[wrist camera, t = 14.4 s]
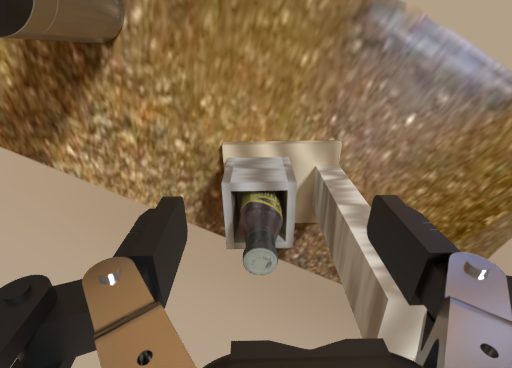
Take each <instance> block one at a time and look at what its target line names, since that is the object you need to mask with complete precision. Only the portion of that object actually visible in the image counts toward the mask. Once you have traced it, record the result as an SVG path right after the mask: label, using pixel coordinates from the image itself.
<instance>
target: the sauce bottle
mask: <svg viewBox="0 0 512 368" xmlns="http://www.w3.org/2000/svg"><path fill="white" fill-rule="evenodd" d="M282 224H283V218H282V211H281V202H280V195H279V191H243V196H242V203H241V210H240V220H239V230H240V233H241V236H242V238H243V239H244V240H245V243H246V248H245V250H244V252H243V265H244V267H245V269H246V270H248V271H249V272H250V273H252V274H255V275H266V274H269V273H271V272H272V271H273V270H274V269H275V268H276V266H277V263H278V253H277V250H276V248H275V247H276V246H275V242H276V239H277V237H278V234H279V232H280V229H281V227H282Z"/></svg>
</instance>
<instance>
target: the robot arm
mask: <svg viewBox="0 0 512 368" xmlns="http://www.w3.org/2000/svg"><path fill="white" fill-rule="evenodd" d="M123 21H124V8H123V3H122V0H0V38H14V39H35V40H52V41H69V42H85V43H104V42H108V41H110V40H112V39H113V38H115V37H116V36H117V35H118V33H119V32H120V30H121V28H122V25H123ZM367 236H368V239H369V241H370V243H371V244H372V246H373V248H374V249H375V251H376V253H377V254H378V256H379V257H380V259H381V261H382V262H383V264H384V265H385V267H386V269H387V270H388V272H389V274H390V275H391V277H392V278H393V280H394V282H395V283H396V285H397V286H398V288H399V290H400V291H401V293H402V295H403V296H404V298H405V299H406V301H407V303H408V304H409V306H412V305H424V306H425V307H426V309H427V310H426V312H425V315H424V318H423V324H422V329H421V334H420V340H419V345H418V351H417V357H416V361H415V362H414V361H412V360H410V359H408V358H405V357H403V356H400V355H398V354H395V353H392V352H389V350H388V348H387V346H386V344H385V342H384V339H383V338H368V339H345V340H341V341H338V342H334V343H331V344H328V345H325V346H322V347H318V348H315V349H311V350H308V349H302V348H298V347H294V346H290V345H286V344H282V343H277V342H273V341H268V340H267V341H231V354H229V355H226V356H223V357H221V358H219V359H216V360H214V361H212V362H211V363H209V364H207V365H206V366H204V367H203V368H512V276H507V275H505V273H504V272H503V271H502V270H501V269H500V268H499V267H498V266H496V265H495V264H494V263H492V262H491V261H489V260H487V259H485V258H483V257H480V256H478V255H475V254H471V253H465V252H461V251H459V250H458V249H457V248H456V247H455V246H454V245H453V244H452V243H451V242H450V241H449V240H448V239H447V238H446V237H445V236H444V235H443V234H442V233H441V232H440V231H439V230H437V228H436V227H435V226H434V225H433V224H432V223H430V222H429V221H428V220H427V219H426V218H425V217H424V216H423V215H422V214H421V213H419V212H418V211H416V210H414V209H412V208H411V207H407V206H406V205H405V203H404V202H403V201H402V200H401V199H400V198H399V197H398V196H396V195H376V196H375V197H374V199H373V202H372V207H371V211H370V215H369V219H368V224H367ZM186 241H187V222H186V215H185V208H184V201H183V198H182V197H181V196H180V197H162V199H161V200H160V202H159V204H158V205H157V207H156V209H148V210H147V211H146V212H144V213H143V214H142V215H141V216H140V217H139V218H138V220H137V221H136V222H135V224H134V226H133V227H132V229H131V230H130V233H128V235H127V236H126V238H125V239H124V241H123V242H122V244H121V245H120V247H119V248H118V250H117V251H116V253H115V255H114V256H113V258H109V259H106V260H103V261H101V262H99V263H97V264H95V265H94V266H93V267H91V268H90V269H89V270H88V271H87V272H86V274H85V275H84V277H83V279H80V280H77V281H73V282H68V283H65V284H60V285H56V286H52V284H51V282H50V280H49V279H48V278H47V277H45V276H43V275H30V276H26V277H23V278H20V279H17V280H15V281H13V282H10V283H8V284H7V285H5V286H3V287H2V288H0V368H10V367H11V365H12V364H13V363H14V364H13V365H12V367H11V368H71V366H72V364H73V362H74V360H75V358H76V357H77V356H80V355H83V354H86V353H89V352H92V351H95V350H97V353H98V357H99V360H100V364H101V368H196V366H195V364H194V362H193V361H192V359H191V357H190V355H189V353H188V351H187V350H186V348H185V346H184V344H183V343H182V341H181V339H180V337H179V335H178V333H177V332H176V330H175V328H174V326H173V325H172V323H171V321H170V319H169V317H168V316H167V314H166V312H165V310H164V308H165V306H166V303H167V300H168V297H169V294H170V291H171V288H172V285H173V282H174V278H175V275H176V272H177V269H178V266H179V263H180V260H181V257H182V254H183V251H184V248H185V244H186ZM16 358H17V359H16ZM15 360H16V361H15ZM14 361H15V362H14Z"/></svg>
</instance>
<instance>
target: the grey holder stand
mask: <svg viewBox="0 0 512 368" xmlns="http://www.w3.org/2000/svg"><path fill="white" fill-rule="evenodd" d="M341 145H342V143H341V142H340V141H339V140H327V141H271V142H223V144H222V149H223V162H224V176H223V180H222V196H223V209H224V221H225V233H226V244H227V249H245V248H246V243H245V240H244V239H243V238H242V236H241V233H240V230H239V220H240V210H241V203H242V196H243V191H279V195H280V202H281V211H282V218H283V224H282V227H281V229H280V232H279V234H278V237H277V239H276V242H275V246H276V247H275V248H293V244H294V226H295V223H319V224H320V227H321V229H322V232H323V235H324V237H325V240H326V243H327V245H328V248H329V250H330V253H331V256H332V258H333V261H334V264H335V266H336V269H337V272H338V274H339V277H340V280H341V282H342V285H343V287H344V290H345V293H346V295H347V298H348V301H349V303H350V306H351V308H352V311H353V314H354V316H355V319H356V322H357V324H358V327H359V330H360V332H361V335H362V337H363V339H368V338H383V339H384V342H385V344H386V346H387V348H388V350H389V352H392V353H395V354H398V355H400V356H403V357H405V358H408V359H414V358H415V355H416V353H417V351H418V345H419V340H420V334H421V329H422V324H423V318H424V315H425V312H426V310H427V309H426V307H425V306H424V305H412V306H409V304H408V303H407V301H406V299H405V298H404V296H403V295H402V293H401V291H400V290H399V288H398V286H397V285H396V283H395V282H394V280H393V278H392V277H391V275H390V274H389V272H388V270H387V269H386V267H385V265H384V264H383V262H382V261H381V259H380V257H379V256H378V254H377V253H376V251H375V249H374V248H373V246H372V244H371V243H370V241H369V239H368V236H367V224H368V219H369V215H370V211H371V207H370V206H369V205H368V203H367V202H366V201H365V199H364V198H363V197H362V195H361V194H360V193H359V191H358V190H357V189H356V187H355V186H354V185H353V183H352V182H351V181H350V179H349V178H348V177H347V175H346V174H345V173H344V171H343V170H342V169H341V167H340V166H339V160H340V152H341Z"/></svg>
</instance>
